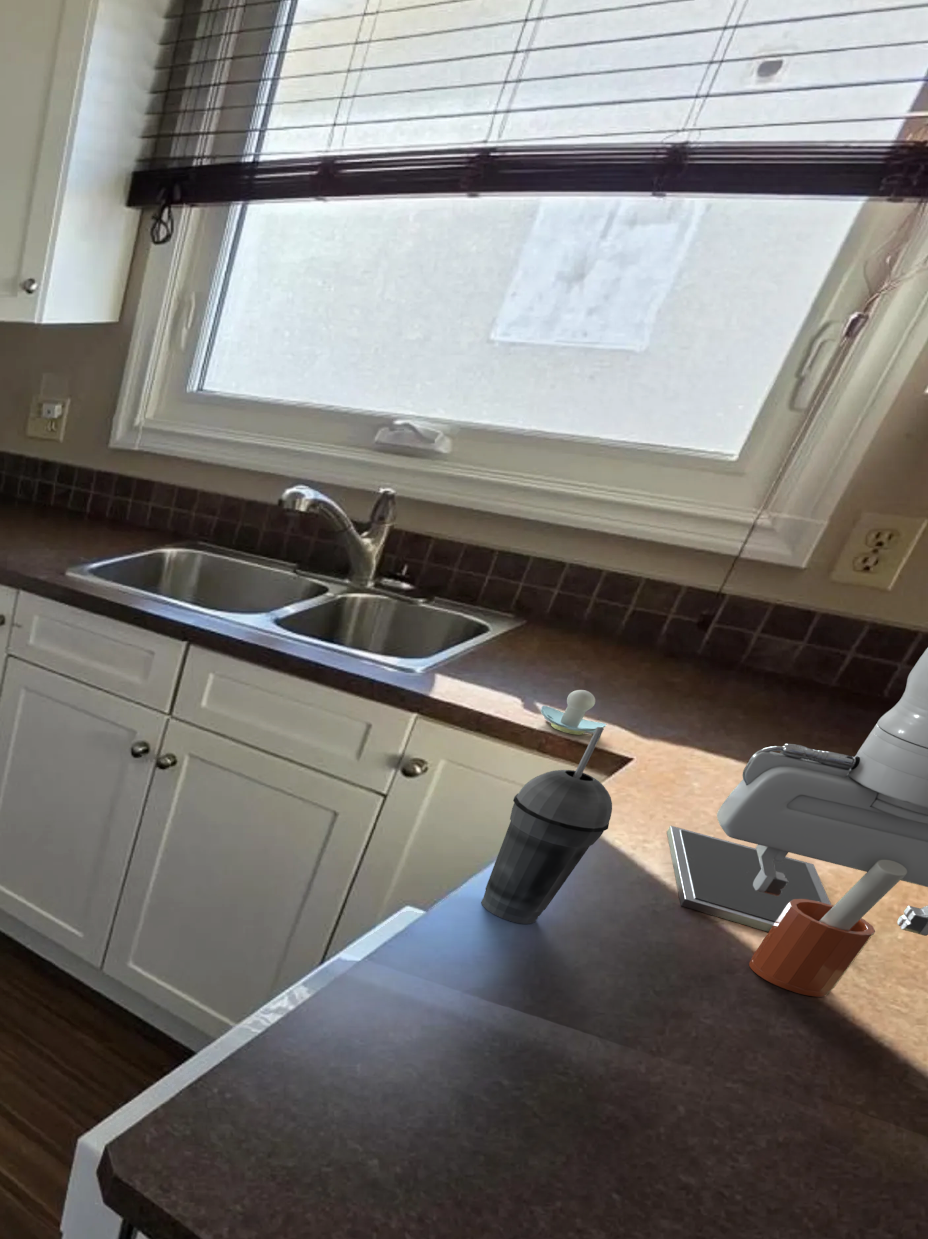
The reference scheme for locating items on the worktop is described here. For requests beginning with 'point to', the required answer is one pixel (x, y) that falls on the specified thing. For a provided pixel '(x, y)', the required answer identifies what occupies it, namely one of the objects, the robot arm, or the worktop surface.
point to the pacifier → (573, 714)
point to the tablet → (735, 879)
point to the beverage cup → (546, 839)
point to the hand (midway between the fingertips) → (835, 909)
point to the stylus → (864, 894)
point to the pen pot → (808, 949)
